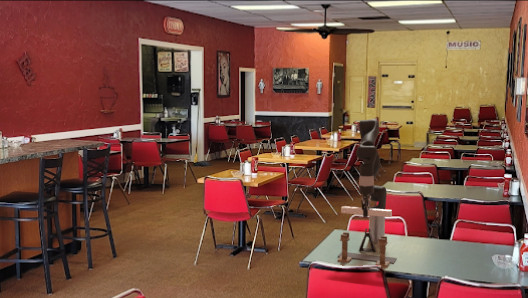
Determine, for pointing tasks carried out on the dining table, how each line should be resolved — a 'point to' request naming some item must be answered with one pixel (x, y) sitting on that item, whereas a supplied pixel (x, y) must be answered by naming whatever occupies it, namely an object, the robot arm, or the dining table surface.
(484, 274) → the dining table surface
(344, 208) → the brown wooden bar
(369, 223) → the robot arm
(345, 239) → the stand
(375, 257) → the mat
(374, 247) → the black triangular frame
